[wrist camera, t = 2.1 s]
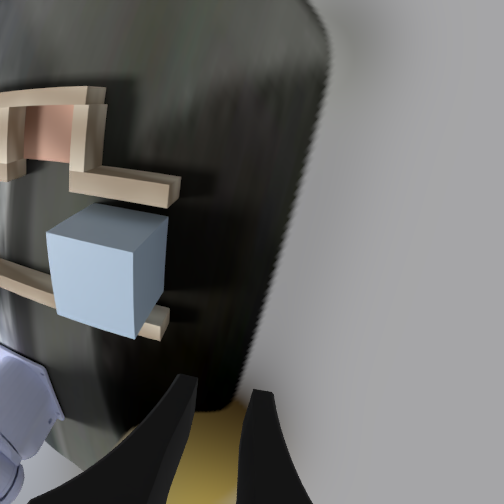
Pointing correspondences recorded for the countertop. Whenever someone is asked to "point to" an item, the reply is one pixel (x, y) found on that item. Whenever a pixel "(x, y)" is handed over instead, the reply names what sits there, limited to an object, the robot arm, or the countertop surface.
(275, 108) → the countertop surface
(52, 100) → the beige flat frame
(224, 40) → the countertop surface
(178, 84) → the countertop surface
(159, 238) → the block
